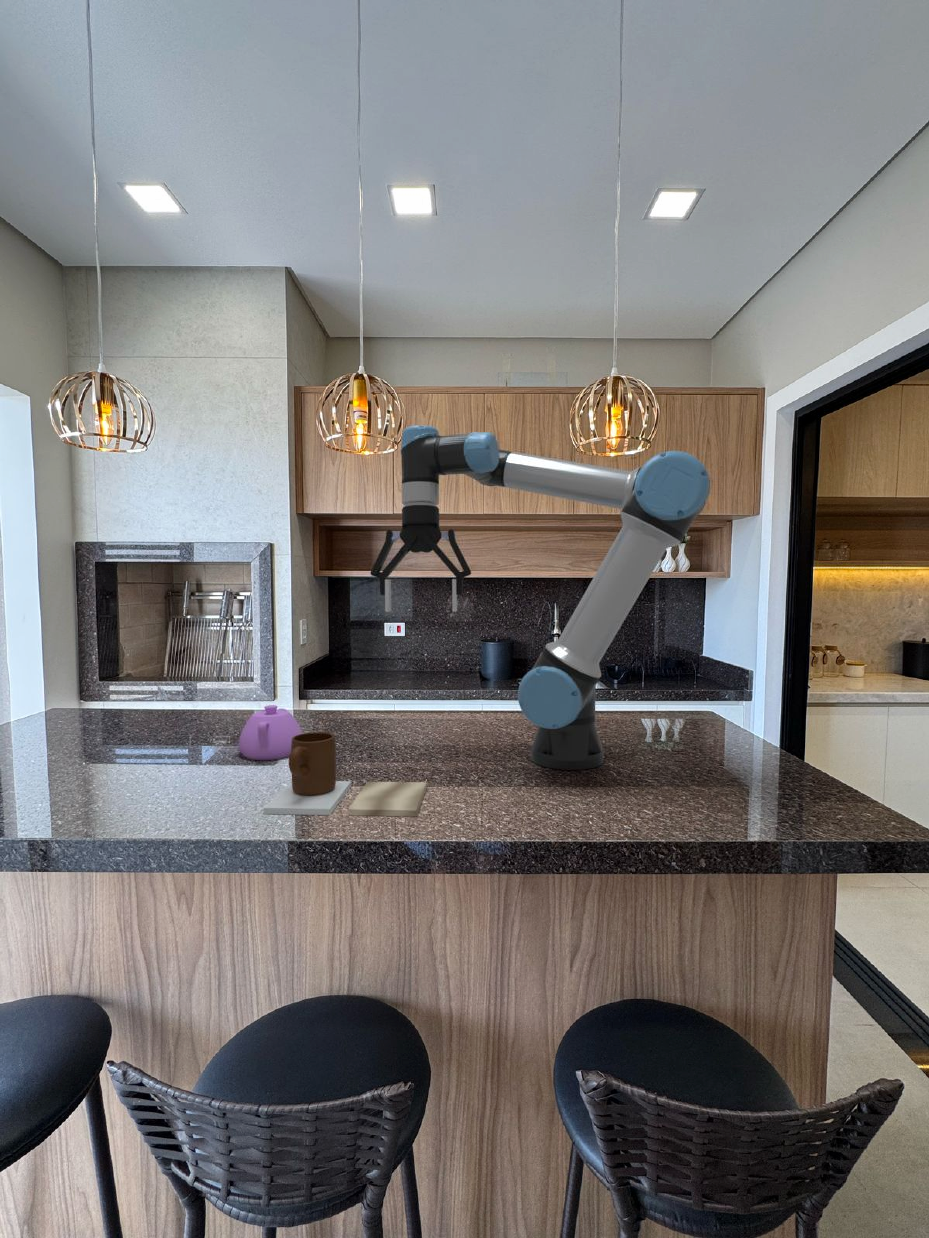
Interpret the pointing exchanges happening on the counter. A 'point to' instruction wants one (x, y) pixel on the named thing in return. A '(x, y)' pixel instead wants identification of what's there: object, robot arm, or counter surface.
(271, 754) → the teapot
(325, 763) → the mug
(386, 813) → the tile oak
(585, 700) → the robot arm
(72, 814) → the counter surface
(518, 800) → the counter surface
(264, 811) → the tile grey
